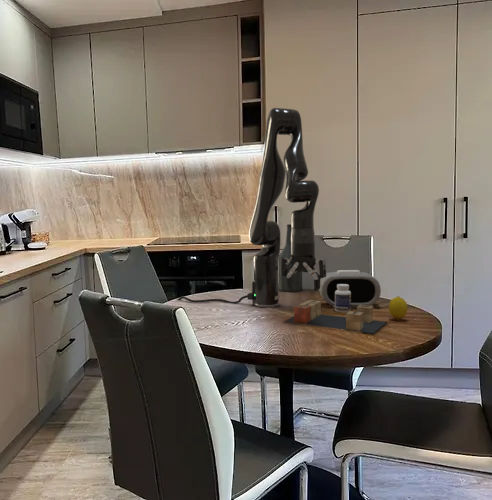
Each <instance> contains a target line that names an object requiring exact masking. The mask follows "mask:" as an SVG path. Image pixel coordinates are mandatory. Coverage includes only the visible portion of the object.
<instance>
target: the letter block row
mask: <svg viewBox="0 0 492 500" xmlns="http://www.w3.org/2000/svg"><path fill="white" fill-rule="evenodd" d="M345 317H346V329H349V330H348V331H351V330H356V331H355V332H359V331H360V330H361V329H363V322H364V323H371V322H372V321H373V320H374V305H371V306H369V305H359V306H358V307H357V308H356V311H354V310H351V311H350V312H346V313H345Z"/></svg>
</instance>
